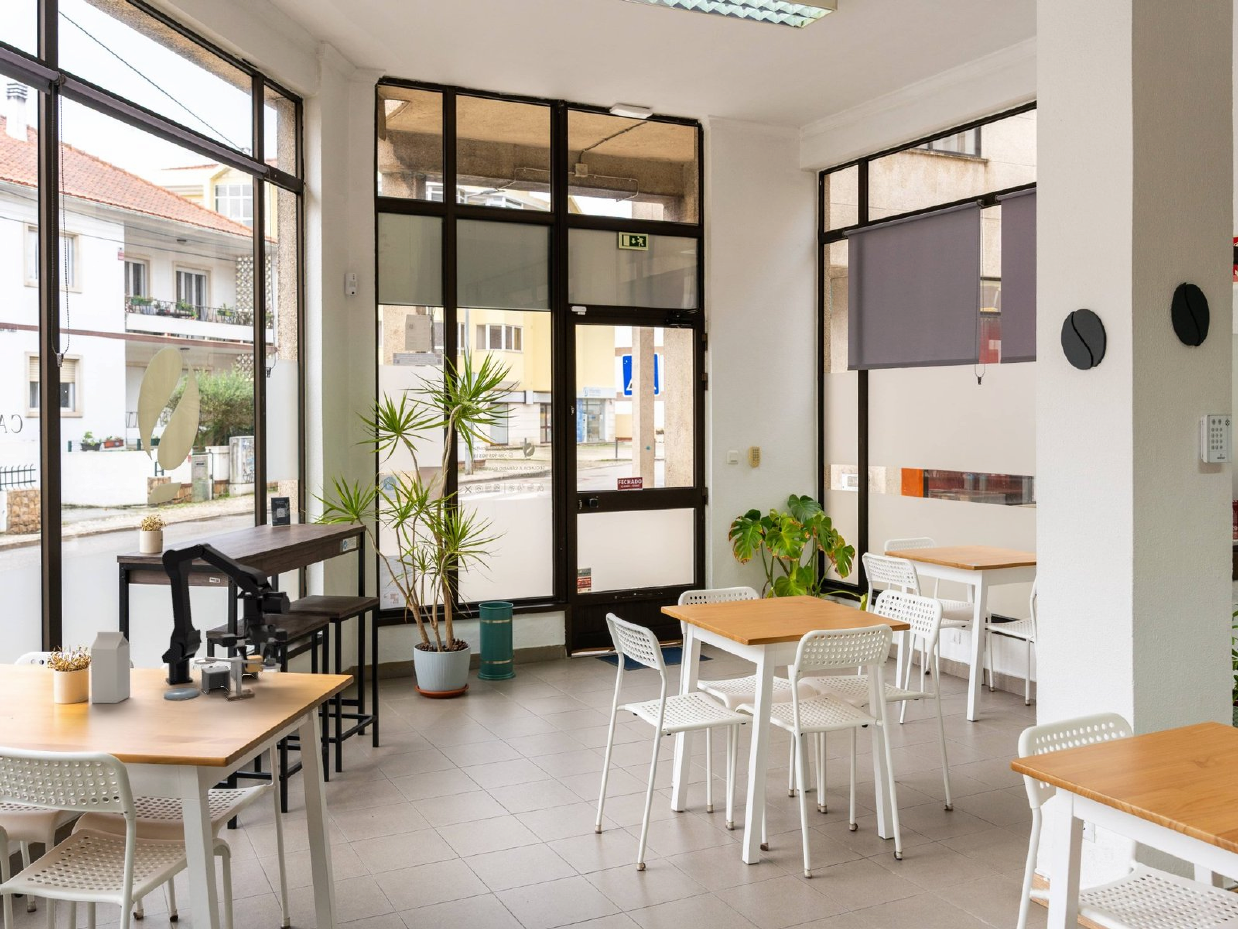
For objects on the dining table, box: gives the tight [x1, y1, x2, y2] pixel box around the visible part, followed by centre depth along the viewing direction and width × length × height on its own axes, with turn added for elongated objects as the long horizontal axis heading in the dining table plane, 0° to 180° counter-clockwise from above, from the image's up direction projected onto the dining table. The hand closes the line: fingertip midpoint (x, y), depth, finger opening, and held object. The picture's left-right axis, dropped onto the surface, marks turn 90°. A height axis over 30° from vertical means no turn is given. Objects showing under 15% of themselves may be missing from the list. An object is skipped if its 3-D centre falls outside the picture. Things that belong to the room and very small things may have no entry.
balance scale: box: [194, 656, 282, 702], centre depth 281 cm, size 6×23×12 cm, turn 125°
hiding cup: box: [230, 654, 259, 681], centre depth 302 cm, size 6×6×6 cm
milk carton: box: [90, 631, 131, 704], centre depth 276 cm, size 7×7×19 cm
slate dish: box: [163, 687, 200, 701], centre depth 281 cm, size 9×9×1 cm
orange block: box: [245, 654, 264, 673], centre depth 293 cm, size 4×4×4 cm
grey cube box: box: [201, 665, 232, 695], centre depth 288 cm, size 6×6×6 cm
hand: (254, 667), depth 294 cm, fingers closed on orange block, 4 cm apart
